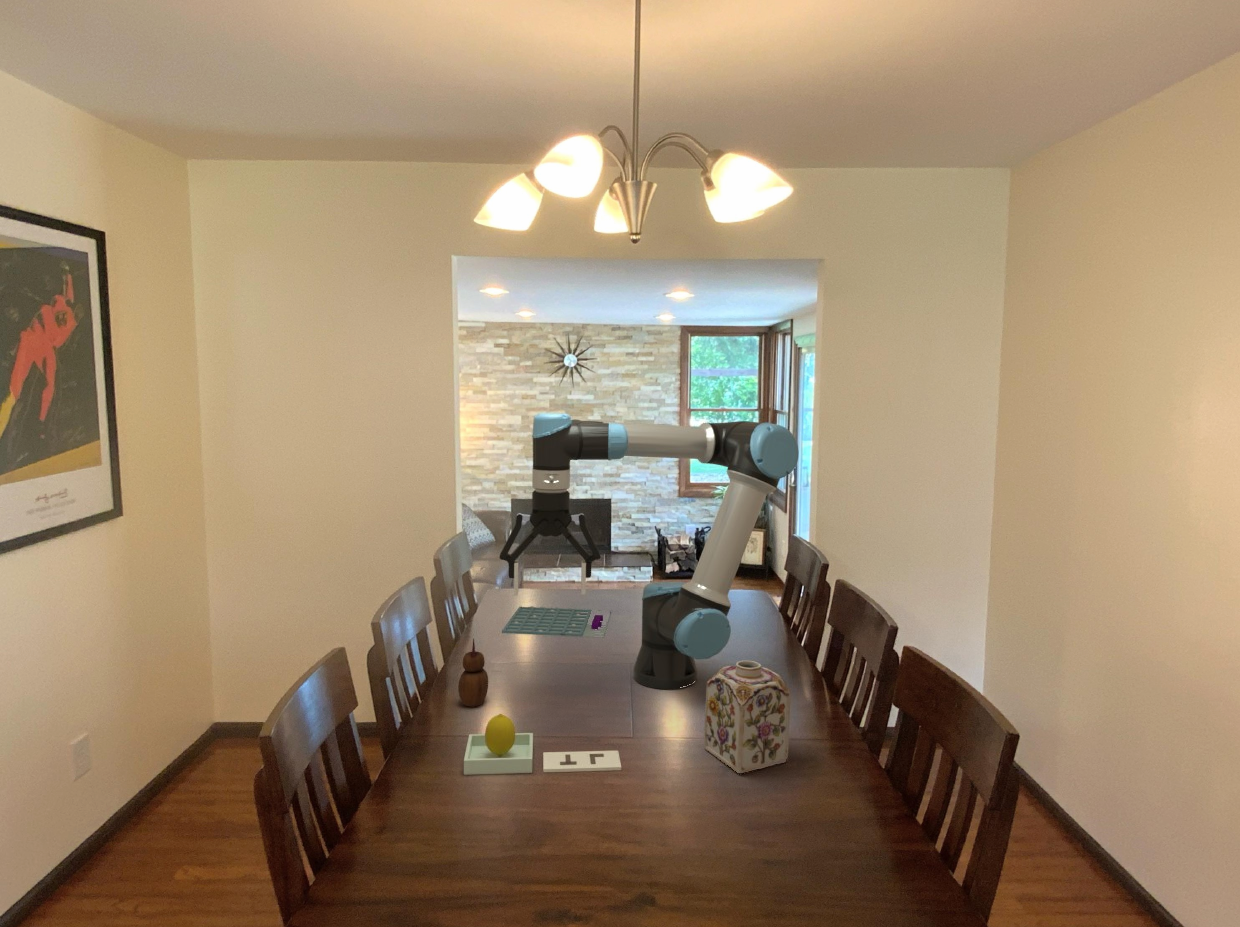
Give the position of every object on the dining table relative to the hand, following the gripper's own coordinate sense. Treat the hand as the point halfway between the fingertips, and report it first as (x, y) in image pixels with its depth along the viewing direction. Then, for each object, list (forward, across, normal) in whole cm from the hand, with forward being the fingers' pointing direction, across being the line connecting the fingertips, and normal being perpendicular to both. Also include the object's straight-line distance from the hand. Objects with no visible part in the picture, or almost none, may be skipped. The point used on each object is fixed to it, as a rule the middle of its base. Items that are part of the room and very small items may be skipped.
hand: (549, 593), depth 158 cm
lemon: (+26, -9, -17) cm, 32 cm away
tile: (+27, +6, -19) cm, 33 cm away
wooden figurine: (+27, -16, +9) cm, 33 cm away
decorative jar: (+27, +37, -18) cm, 49 cm away
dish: (+27, -9, -17) cm, 33 cm away
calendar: (+28, +4, +68) cm, 74 cm away
